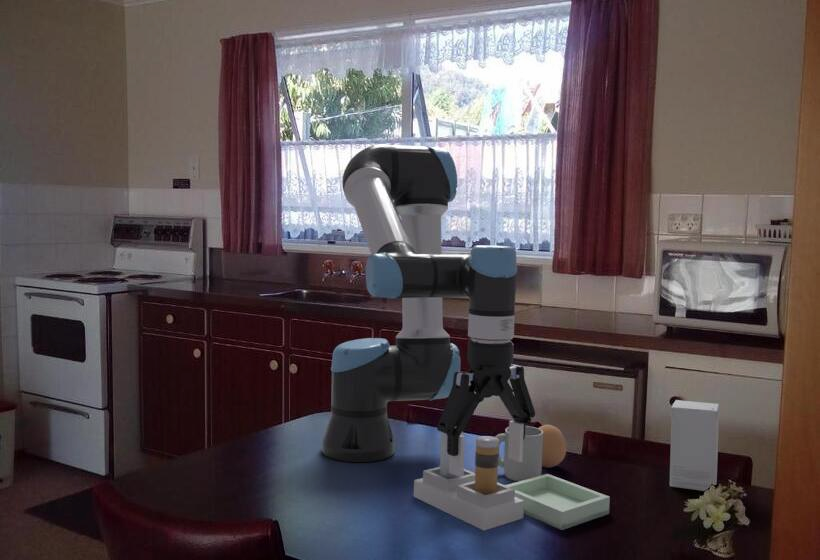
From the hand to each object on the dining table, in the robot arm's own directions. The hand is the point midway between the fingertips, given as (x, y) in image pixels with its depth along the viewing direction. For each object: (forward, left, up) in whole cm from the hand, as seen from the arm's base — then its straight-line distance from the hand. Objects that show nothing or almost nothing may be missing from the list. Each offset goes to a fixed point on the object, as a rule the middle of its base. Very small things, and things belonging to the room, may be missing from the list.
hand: (486, 467), depth 129 cm
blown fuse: (0, 0, -5) cm, 5 cm away
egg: (-12, +28, -9) cm, 31 cm away
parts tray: (+4, +12, -8) cm, 15 cm away
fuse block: (-5, 0, -8) cm, 10 cm away
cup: (-12, +19, -9) cm, 24 cm away
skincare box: (+11, +43, -9) cm, 45 cm away
